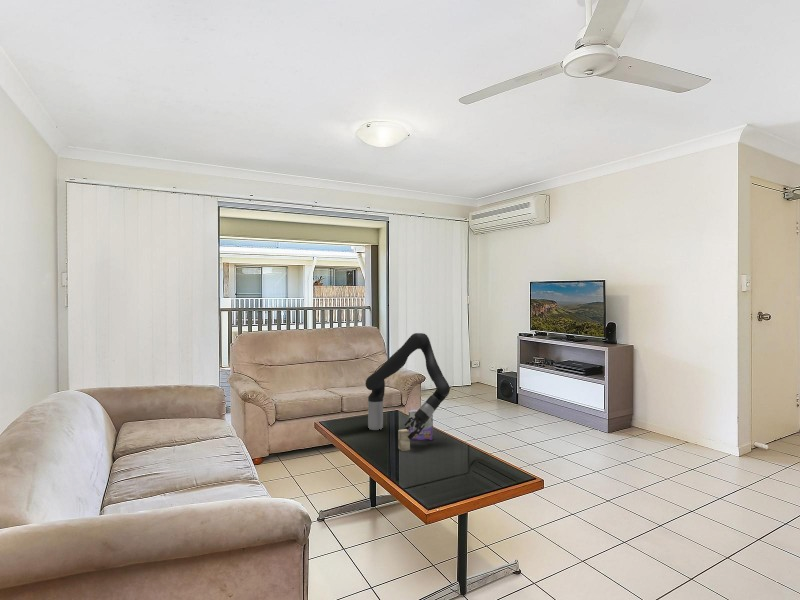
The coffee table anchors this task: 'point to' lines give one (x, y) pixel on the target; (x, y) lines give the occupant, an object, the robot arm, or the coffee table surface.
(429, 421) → the candy box
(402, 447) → the birch block
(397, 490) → the coffee table surface
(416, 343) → the robot arm
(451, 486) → the coffee table surface
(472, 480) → the coffee table surface
